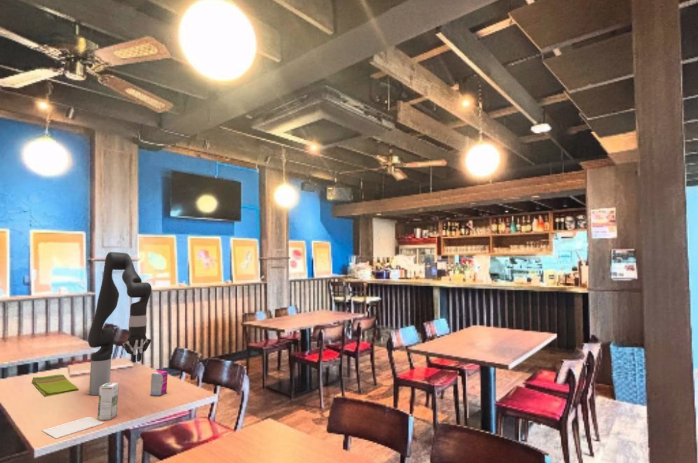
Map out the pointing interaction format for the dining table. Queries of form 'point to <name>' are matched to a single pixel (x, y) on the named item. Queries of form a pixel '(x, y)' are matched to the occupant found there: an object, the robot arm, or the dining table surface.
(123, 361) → the dining table surface
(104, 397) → the syrup box
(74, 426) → the white rectangular panel
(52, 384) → the dish towel
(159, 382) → the supplement box
